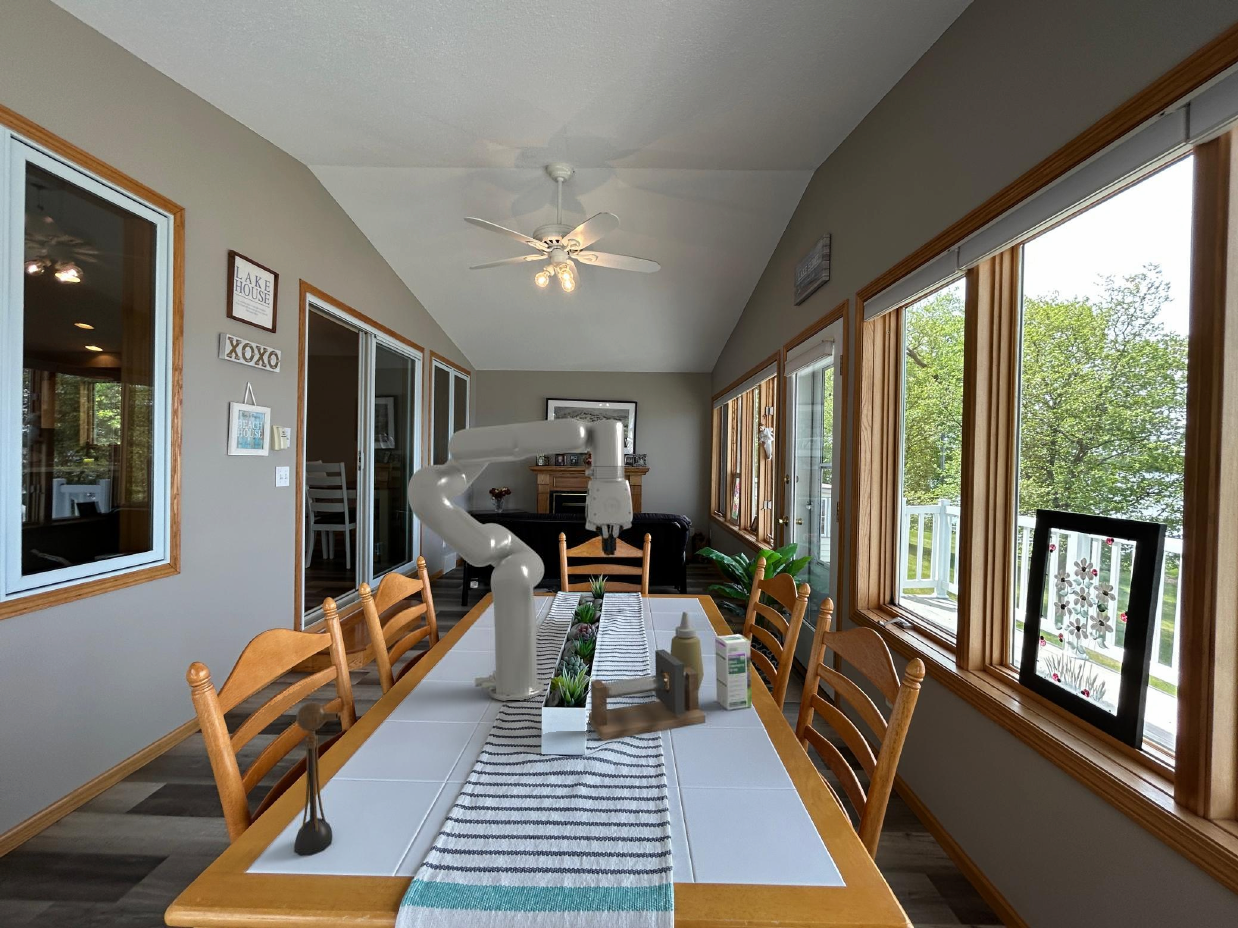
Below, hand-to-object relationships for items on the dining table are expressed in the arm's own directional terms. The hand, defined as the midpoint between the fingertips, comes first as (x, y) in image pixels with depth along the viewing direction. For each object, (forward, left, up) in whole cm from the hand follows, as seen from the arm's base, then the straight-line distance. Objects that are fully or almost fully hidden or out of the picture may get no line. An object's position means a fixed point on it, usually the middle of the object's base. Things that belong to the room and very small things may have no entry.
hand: (609, 554), depth 137 cm
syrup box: (+23, -15, -32) cm, 42 cm away
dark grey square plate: (+7, -16, -30) cm, 34 cm away
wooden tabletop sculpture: (-56, -36, -32) cm, 74 cm away
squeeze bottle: (+17, -4, -32) cm, 37 cm away
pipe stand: (+2, -16, -32) cm, 36 cm away
